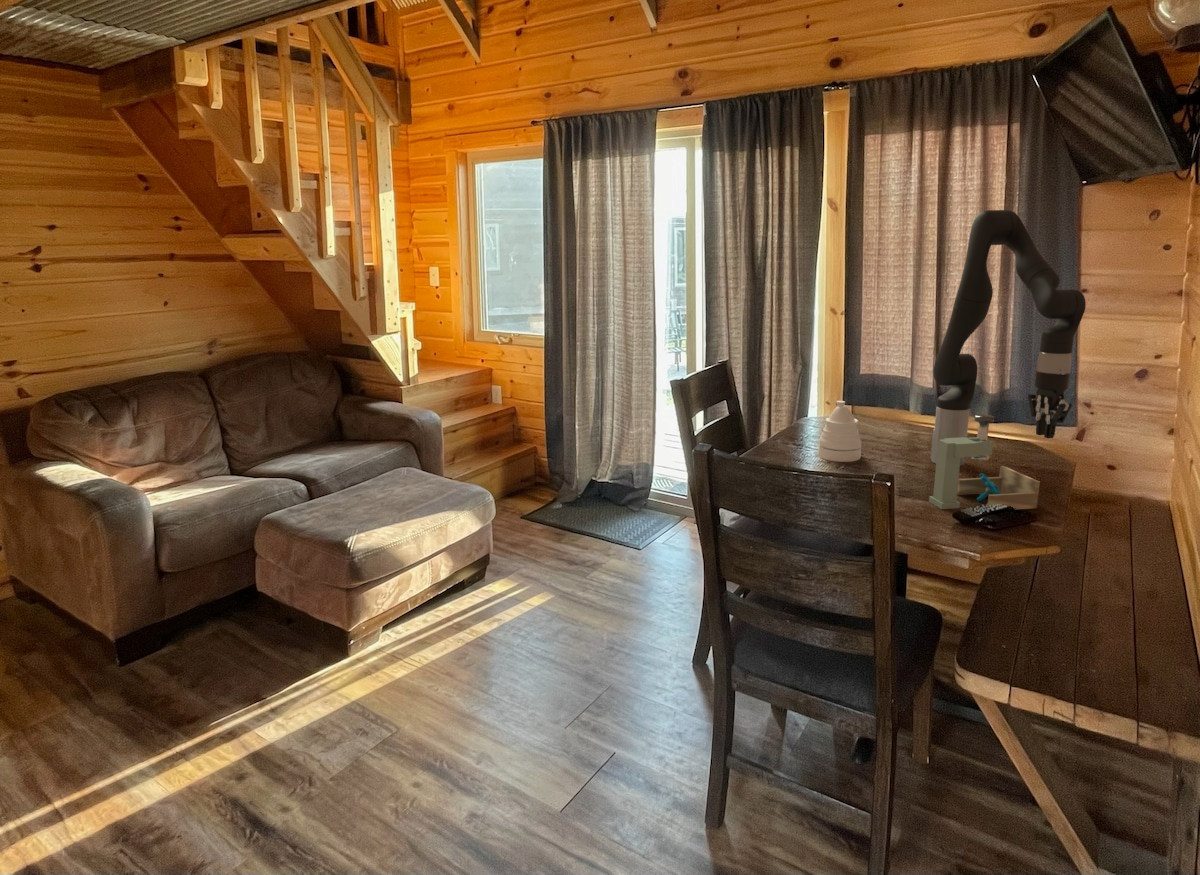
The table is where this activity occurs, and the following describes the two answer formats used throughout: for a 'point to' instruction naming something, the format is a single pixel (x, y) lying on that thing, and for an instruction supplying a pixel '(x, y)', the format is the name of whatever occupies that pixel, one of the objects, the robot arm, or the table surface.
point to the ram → (983, 432)
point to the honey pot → (840, 436)
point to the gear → (988, 488)
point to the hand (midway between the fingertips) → (1044, 436)
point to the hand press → (953, 467)
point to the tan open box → (1005, 489)
